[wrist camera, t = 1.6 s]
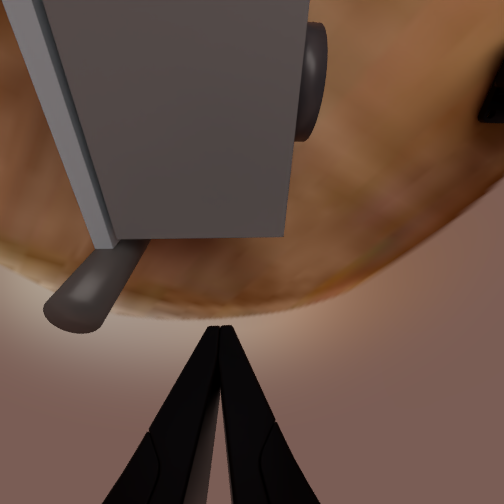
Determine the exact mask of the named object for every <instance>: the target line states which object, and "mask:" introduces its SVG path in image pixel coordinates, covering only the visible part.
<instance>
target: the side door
mask: <svg viewBox="0 0 504 504" xmlns="http://www.w3.org/2000/svg"><path fill="white" fill-rule="evenodd" d="M2 2H3V5H4V8H5V10H6V13H7V16H8V18H9V21H10V24H11V26H12V29H13V32H14V34H15V37H16V40H17V42H18V45H19V48H20V50H21V53H22V56H23V58H24V61H25V63H26V66H27V69H28V71H29V74H30V77H31V79H32V82H33V85H34V87H35V90H36V93H37V95H38V98H39V101H40V103H41V106H42V109H43V111H44V114H45V117H46V119H47V122H48V125H49V127H50V130H51V133H52V135H53V138H54V141H55V143H56V146H57V149H58V151H59V154H60V157H61V159H62V162H63V165H64V167H65V170H66V173H67V175H68V178H69V181H70V183H71V186H72V188H73V191H74V194H75V196H76V199H77V202H78V204H79V207H80V210H81V212H82V215H83V218H84V220H85V223H86V226H87V228H88V231H89V234H90V236H91V239H92V242H93V244H94V247H95V250H94V251H93V252H92V253H91V254H90V255H89V257H88V258H87V259H86V260H85V261H84V262H83V263H82V264H81V265H80V266H79V267H78V268H77V269H76V270H75V272H74V273H73V274H72V275H71V276H70V277H69V278H68V279H67V280H66V281H65V282H64V283H63V284H62V286H61V287H60V288H59V289H58V290H57V291H56V292H55V293H54V294H53V295H52V296H51V297H50V298H49V300H48V301H47V302H46V303H45V304H44V308H43V312H44V315H45V317H46V318H47V319H48V321H49V322H50V323H52V324H53V325H54V326H56V327H58V328H60V329H62V330H64V331H68V332H72V333H79V334H80V333H82V334H84V333H90V332H94V331H96V330H97V329H98V328H100V327H101V325H102V324H103V322H104V320H105V319H106V317H107V315H108V313H109V312H110V310H111V308H112V307H113V305H114V303H115V301H116V300H117V298H118V296H119V294H120V293H121V291H122V289H123V288H124V286H125V284H126V282H127V281H128V279H129V277H130V275H131V274H132V272H133V270H134V269H135V267H136V265H137V263H138V262H139V260H140V258H141V256H142V255H143V253H144V251H145V250H146V248H147V246H148V244H149V243H150V241H151V239H117V238H116V235H115V232H114V228H113V225H112V222H111V219H110V216H109V212H108V209H107V206H106V203H105V200H104V196H103V193H102V190H101V187H100V184H99V180H98V177H97V174H96V171H95V168H94V164H93V161H92V158H91V155H90V152H89V148H88V145H87V142H86V139H85V135H84V132H83V129H82V126H81V123H80V119H79V116H78V113H77V110H76V107H75V103H74V100H73V97H72V94H71V91H70V87H69V84H68V81H67V78H66V75H65V71H64V68H63V65H62V62H61V59H60V55H59V52H58V49H57V46H56V42H55V39H54V36H53V33H52V30H51V26H50V23H49V20H48V17H47V14H46V10H45V7H44V4H43V1H42V0H2Z"/></svg>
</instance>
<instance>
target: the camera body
mask: <svg viewBox="0 0 504 504" xmlns="http://www.w3.org/2000/svg"><path fill="white" fill-rule="evenodd" d="M42 1H43V4H44V7H45V10H46V14H47V17H48V20H49V23H50V26H51V30H52V33H53V36H54V39H55V42H56V46H57V49H58V52H59V55H60V59H61V62H62V65H63V68H64V71H65V75H66V78H67V81H68V84H69V87H70V91H71V94H72V97H73V100H74V103H75V107H76V110H77V113H78V116H79V119H80V123H81V126H82V129H83V132H84V135H85V139H86V142H87V145H88V148H89V152H90V155H91V158H92V161H93V164H94V168H95V171H96V174H97V177H98V180H99V184H100V187H101V190H102V193H103V196H104V200H105V203H106V206H107V209H108V212H109V216H110V219H111V222H112V225H113V228H114V232H115V235H116V238H117V239H179V238H249V237H284V228H285V219H286V209H287V200H288V191H289V182H290V173H291V164H292V155H293V146H294V141H296V142H304V141H306V140H307V139H308V138H309V136H310V135H311V133H312V131H313V128H314V126H315V123H316V120H317V117H318V114H319V110H320V106H321V102H322V97H323V92H324V86H325V79H326V70H327V52H328V49H327V35H326V30H325V27H324V25H323V24H322V23H317V22H307V20H308V11H309V2H310V0H42Z"/></svg>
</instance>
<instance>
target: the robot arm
mask: <svg viewBox="0 0 504 504" xmlns="http://www.w3.org/2000/svg"><path fill="white" fill-rule="evenodd" d="M489 112H490V114H489V115H488V113H489ZM478 120H479V122H482V123H504V60H503V62H502V64H501V67H500V69H499V71H498V73H497V75H496V78H495V80H494V82H493V84H492V86H491V88H490V91H489V93H488V95H487V97H486V99H485V101H484V104H483V106H482V108H481V110H480V112H479V115H478ZM220 389H221V400H222V411H223V422H224V432H225V442H226V452H227V461H228V462H227V463H228V472H229V483H230V493H231V504H320V502H319V500H318V499H317V497H316V495H315V494H314V492H313V490H312V489H311V487H310V485H309V484H308V482H307V480H306V478H305V477H304V475H303V473H302V471H301V469H300V468H299V466H298V464H297V462H296V460H295V459H294V457H293V455H292V453H291V451H290V449H289V447H288V445H287V442H286V441H285V438H284V436H283V434H282V432H281V430H280V428H279V426H278V424H277V422H275V417H274V415H273V413H272V411H271V409H270V407H269V404H268V402H267V400H266V398H265V396H264V393H263V391H262V389H261V387H260V385H259V382H258V380H257V378H256V376H255V374H254V372H253V369H252V367H251V365H250V363H249V361H248V359H247V357H246V354H245V352H244V350H243V348H242V346H241V344H240V341H239V339H238V337H237V335H236V333H235V330H234V328H233V327H232V325H224V326H221V327H220V326H209V327H207V329H206V331H205V332H204V334H203V336H202V338H201V340H200V341H199V343H198V345H197V346H196V348H195V350H194V352H193V353H192V355H191V357H190V358H189V360H188V362H187V364H186V365H185V367H184V369H183V370H182V372H181V374H180V376H179V377H178V379H177V381H176V383H175V384H174V386H173V388H172V390H171V391H170V393H169V395H168V397H167V398H166V400H165V402H164V403H163V405H162V407H161V408H160V410H159V412H158V414H157V415H156V417H155V419H154V421H153V422H152V424H151V426H150V428H149V432H150V433H149V432H147V433H146V434H145V436H144V438H143V440H142V441H141V443H140V445H139V446H138V448H137V450H136V451H135V453H134V455H133V456H132V458H131V460H130V461H129V463H128V464H127V466H126V468H125V469H124V471H123V473H122V474H121V476H120V477H119V479H118V480H117V482H116V483H115V485H114V486H113V488H112V489H111V491H110V492H109V494H108V495H107V497H106V498H105V500H104V502H103V503H102V504H206V500H207V493H208V486H209V478H210V470H211V461H212V454H213V446H214V439H215V431H216V423H217V415H218V408H219V407H218V406H219V400H220Z"/></svg>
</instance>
